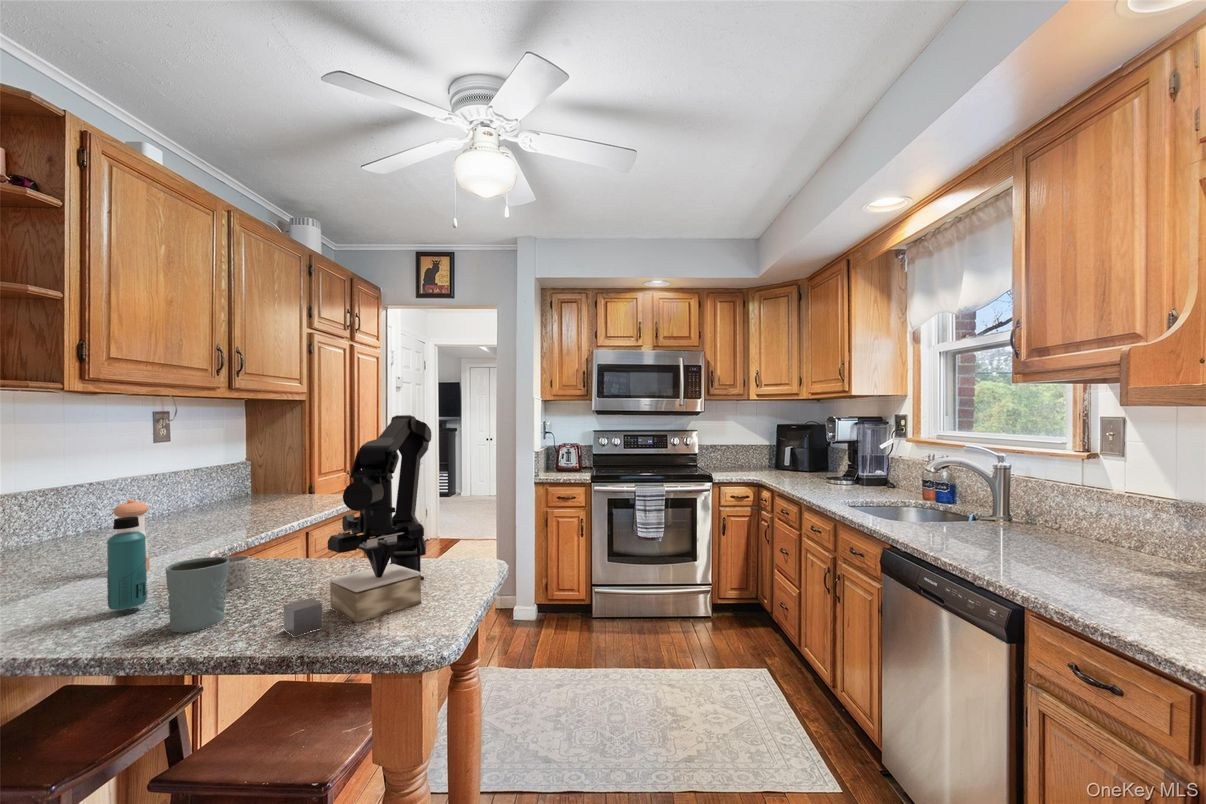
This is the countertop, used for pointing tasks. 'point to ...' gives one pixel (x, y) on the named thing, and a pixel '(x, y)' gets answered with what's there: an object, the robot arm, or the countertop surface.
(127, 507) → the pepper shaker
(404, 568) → the lid
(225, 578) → the gray green planter pot
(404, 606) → the box
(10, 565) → the countertop surface
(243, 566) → the mug
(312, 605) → the block
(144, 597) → the beverage bottle
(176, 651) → the countertop surface
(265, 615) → the countertop surface
